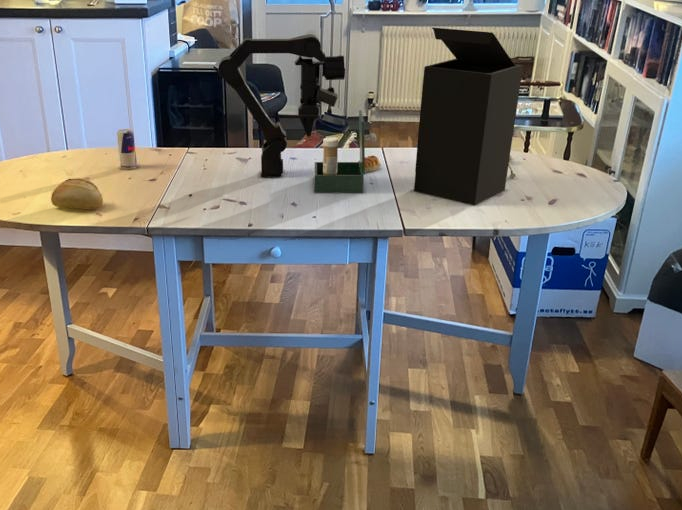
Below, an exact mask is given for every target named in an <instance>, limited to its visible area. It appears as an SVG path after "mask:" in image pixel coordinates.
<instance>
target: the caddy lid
mask: <svg viewBox="0 0 682 510" xmlns="http://www.w3.org/2000/svg"><path fill="white" fill-rule="evenodd" d="M363 115H364V114H363V112H362V110H361V109H360V110H358V124H359V125H358V128H359V131H358V132H359V135H358V136H359V160H360V163H361V169H362V174H363V175H365V174H366V172H365V156H366V154H365V148H366V147H365V142H371V143H376V142H377V136H376V134H375V132H371V133H370V134H365V120H364V116H363Z"/></svg>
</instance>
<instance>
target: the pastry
mask: <svg viewBox="0 0 682 510" xmlns="http://www.w3.org/2000/svg"><path fill="white" fill-rule="evenodd" d="M357 162H360V159H359V160H358V161H357ZM380 167H382V163H381V161H380V159H379V158H378V157H377V156H376V155H368V156H366V157H365V173H370V172H374V171H376V170H377V171H378V170H379V169H380Z"/></svg>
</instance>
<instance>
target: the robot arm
mask: <svg viewBox="0 0 682 510" xmlns="http://www.w3.org/2000/svg"><path fill="white" fill-rule="evenodd" d="M251 54H290V55H295V56H298V58H297V59H295V61H294V65H295V66H300V87H299V88H300V99H299V105H298V107H297V115H298V118H299V120H300V122H301V125H302V128H303V130H304V132H305V135H306V137H307V138H311V136H312V131H313V127H314V121H315V120H316V119H318V118H319V116H320V107H321V104H322V103H323V104H326V105H329V106H330V107H332V108H334V107H335V106H336V103H337V101H338V98H339V94H338V93H337V92H335V91H336V90H335V87H333V86H329V87H328V88H323V87H322V85H321V84H322V83H320V82H321V81H320V80H321V79H320V78H324V80H325V81H343V80H345V78H346V68H345V56H344V55H342V54H341V55H330V56H327V55H326V54H325V52H323V50H322V44H321V41H320V39H319V38H318V37H317V36H316V35H315V34H313V33H312V34H311V33H310V34H309V33H308V34H303V35H299V36H295V37H290V38H249V37H246V38H244V39H243V40H242V41H241V43H239V45H238V46H237V47H236V48H235V49H234V50H233V51H232V52H231V53H230V54H229V55H226V56H224V57H222V58H221V59H220V61H219V62H218V69H217V70H218V75H219V76H220V77H221V79H223V80H224V82H226V84H227V85H228V86H229V87H231V88H232V89H233V91H235V92H236V94H237V95H238V97H239V98H240V100H241V101H242V103H243V104H244V106H245V107H246V108H247V110H248V111H249V113H250V115H251V116H252V118H253V119H254V120H255V122H256V123H257V125H258V126H259V128H260V130H261V132H262V135H263V137H264V139H265V142H264V143H263V144H262V145H261V154H260V155H261V156H260V164H261V166H260V167H261V168H260V169H261V170H260V171H261V172H260V177H261V178H282V175H283V174H284V159H283V158H282V153H283V152H284V151H286V149H287V146H288V142H287V131H286V130H284V129H283V127H282V125H281V123H280V121H277V122H276V123H275V122H273V121H272V120H271V118H270V117H269V115H268V114H267V112H266V111H265V109H264V108H263V106H262V105H261V103H260V102H259V101H258V99H257V98H256V96H255V94H254V93H253V91H252V90H251V88H250V87H249V85H248V84H247V82H246V79H245V78H244V75H243V72H242V70H241V68H240V67H241V66H242V64H243V63H244V62H245V61H246V60H247V59H248V58H249V56H250V55H251ZM313 58H314V59H315V60H317V61H314V60H313ZM320 75H321V76H320Z"/></svg>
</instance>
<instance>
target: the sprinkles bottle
mask: <svg viewBox="0 0 682 510" xmlns="http://www.w3.org/2000/svg"><path fill="white" fill-rule="evenodd" d="M322 146H323V157H322V162H323V175H337V162H339V161H338V160H339V159H338V158H339V155H338V151H339V148H338V147H339V138H338V137H334V136H327V137H324V138H323V140H322Z"/></svg>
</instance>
